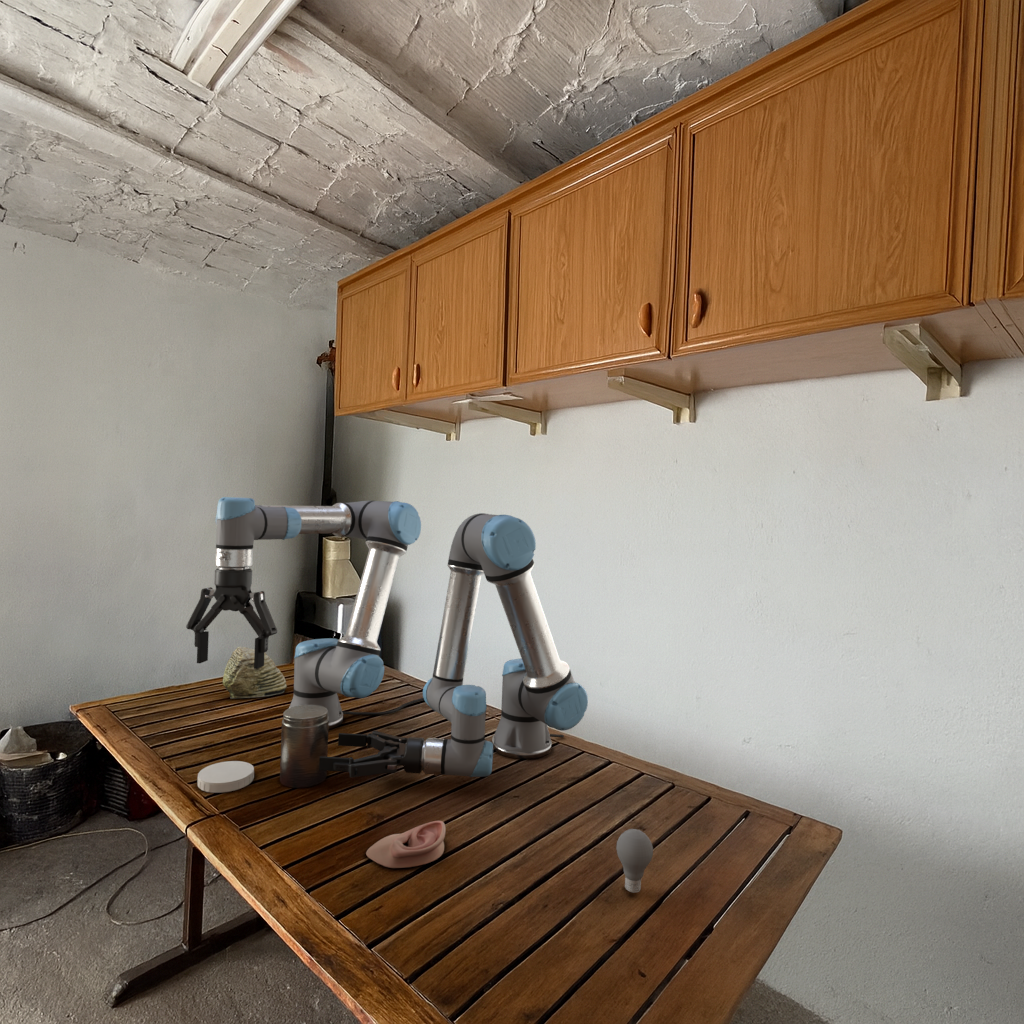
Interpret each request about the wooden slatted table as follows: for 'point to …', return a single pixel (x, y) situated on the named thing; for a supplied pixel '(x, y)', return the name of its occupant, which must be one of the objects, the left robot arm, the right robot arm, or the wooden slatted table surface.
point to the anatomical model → (410, 846)
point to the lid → (225, 776)
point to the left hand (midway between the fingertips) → (230, 664)
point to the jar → (303, 745)
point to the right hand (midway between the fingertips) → (329, 750)
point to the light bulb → (634, 857)
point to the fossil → (252, 676)
